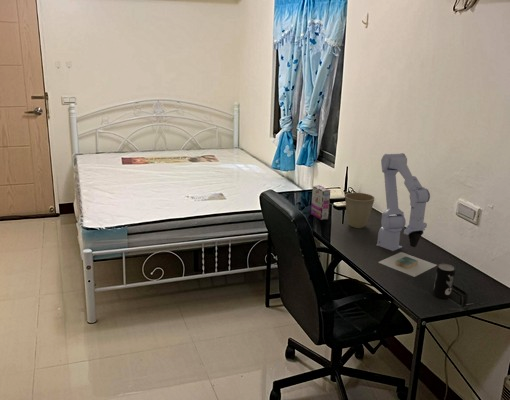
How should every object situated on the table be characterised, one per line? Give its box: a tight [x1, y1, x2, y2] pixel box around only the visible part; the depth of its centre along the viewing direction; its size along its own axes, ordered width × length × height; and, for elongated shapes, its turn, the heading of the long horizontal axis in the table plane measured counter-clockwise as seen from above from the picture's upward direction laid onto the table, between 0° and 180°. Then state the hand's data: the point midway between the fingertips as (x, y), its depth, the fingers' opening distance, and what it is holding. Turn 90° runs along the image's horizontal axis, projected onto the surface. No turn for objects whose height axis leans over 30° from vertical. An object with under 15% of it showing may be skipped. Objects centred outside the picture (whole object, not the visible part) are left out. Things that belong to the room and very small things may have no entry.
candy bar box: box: [310, 184, 331, 221], centre depth 271 cm, size 11×5×16 cm, turn 25°
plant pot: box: [344, 192, 376, 229], centre depth 259 cm, size 15×15×16 cm
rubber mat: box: [377, 251, 438, 278], centre depth 216 cm, size 18×18×1 cm
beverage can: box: [432, 263, 456, 300], centre depth 188 cm, size 7×7×12 cm
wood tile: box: [395, 257, 418, 269], centre depth 215 cm, size 6×2×8 cm
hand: (413, 246), depth 216 cm, fingers closed
